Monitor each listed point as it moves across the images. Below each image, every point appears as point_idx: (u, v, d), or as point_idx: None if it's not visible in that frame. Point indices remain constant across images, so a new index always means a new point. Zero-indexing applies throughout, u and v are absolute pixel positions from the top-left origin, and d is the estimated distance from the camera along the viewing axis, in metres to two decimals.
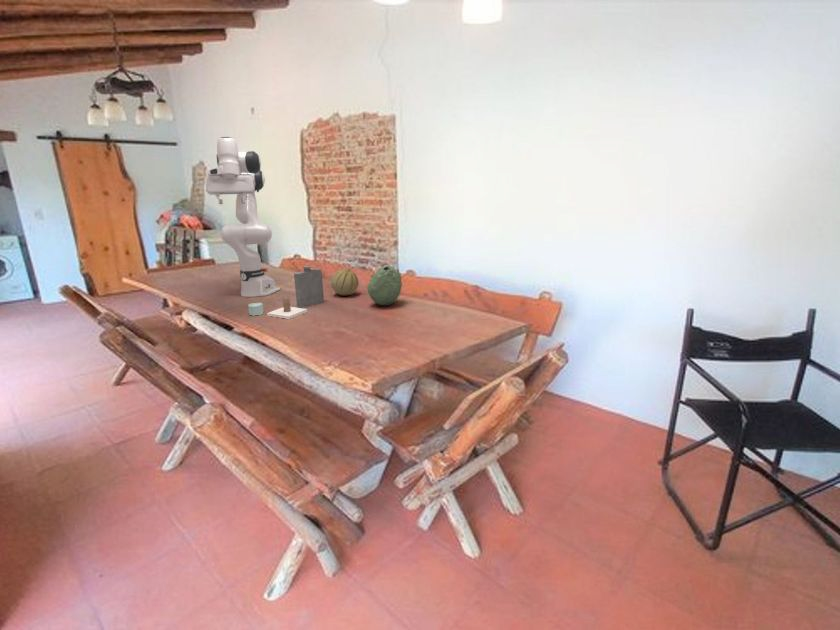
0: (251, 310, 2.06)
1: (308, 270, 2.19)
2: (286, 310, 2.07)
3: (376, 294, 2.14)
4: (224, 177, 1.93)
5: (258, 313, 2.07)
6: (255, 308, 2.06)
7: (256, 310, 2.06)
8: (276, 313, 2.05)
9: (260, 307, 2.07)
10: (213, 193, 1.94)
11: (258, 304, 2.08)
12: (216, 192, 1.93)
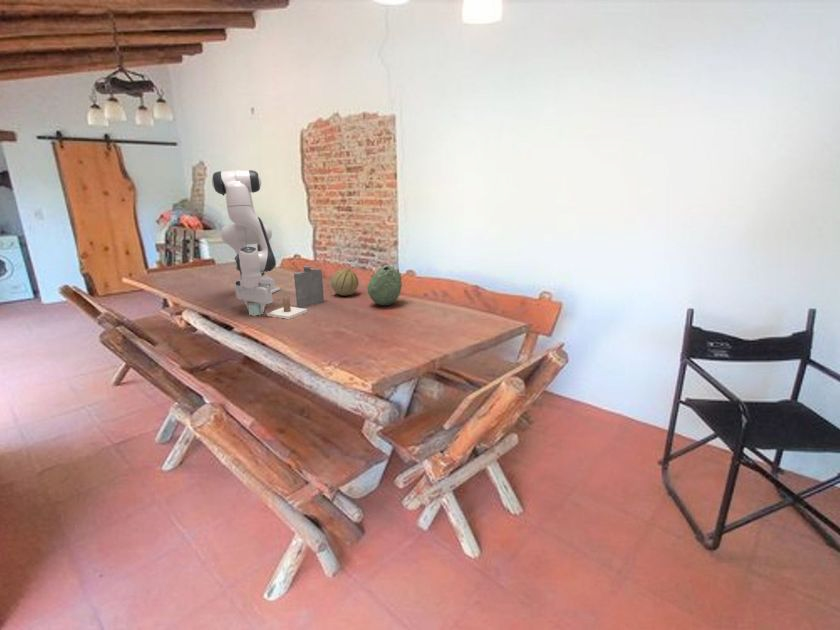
0: (251, 310, 2.06)
1: (308, 270, 2.19)
2: (286, 310, 2.07)
3: (376, 294, 2.14)
4: (246, 288, 2.04)
5: (258, 313, 2.07)
6: (255, 308, 2.06)
7: (256, 310, 2.06)
8: (276, 313, 2.05)
9: (260, 307, 2.07)
10: None
11: (258, 304, 2.08)
12: None
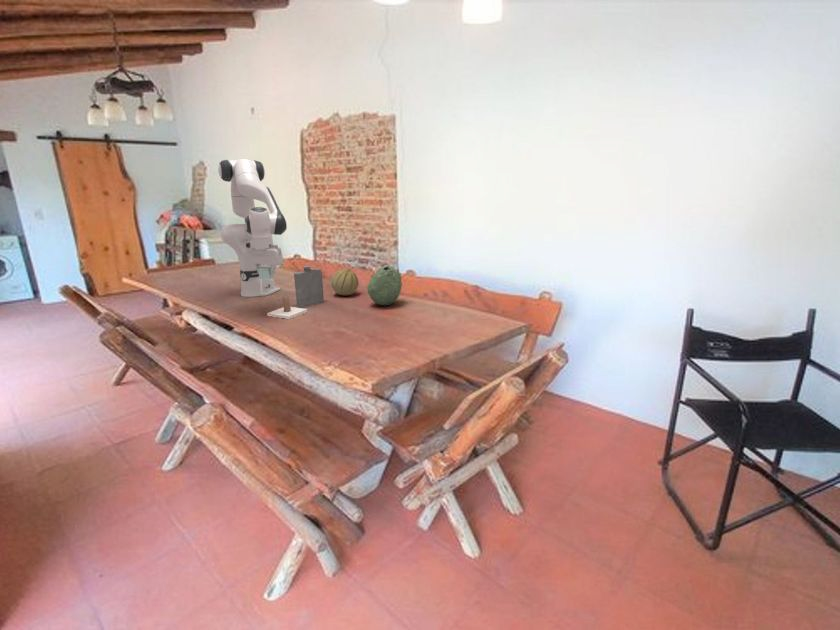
0: (261, 273, 2.00)
1: (308, 270, 2.19)
2: (286, 310, 2.07)
3: (376, 294, 2.14)
4: (256, 250, 1.99)
5: (268, 276, 2.01)
6: (265, 271, 2.00)
7: (266, 273, 2.00)
8: (276, 313, 2.05)
9: (270, 270, 2.01)
10: None
11: (268, 267, 2.02)
12: (253, 263, 2.03)
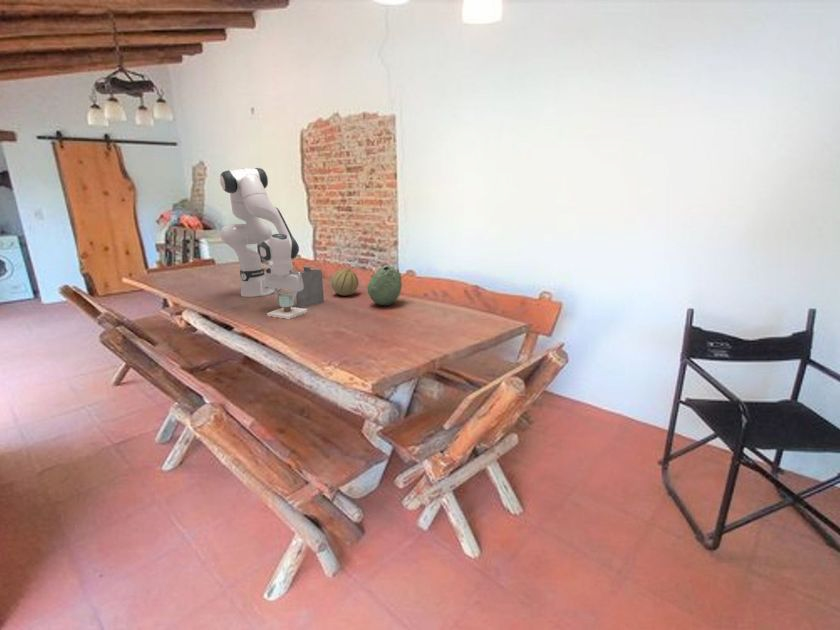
0: (282, 301, 2.04)
1: (308, 270, 2.19)
2: (286, 310, 2.07)
3: (376, 294, 2.14)
4: (276, 276, 2.02)
5: (289, 304, 2.05)
6: (286, 299, 2.04)
7: (287, 301, 2.04)
8: (276, 313, 2.05)
9: None
10: None
11: (288, 295, 2.06)
12: (273, 288, 2.07)
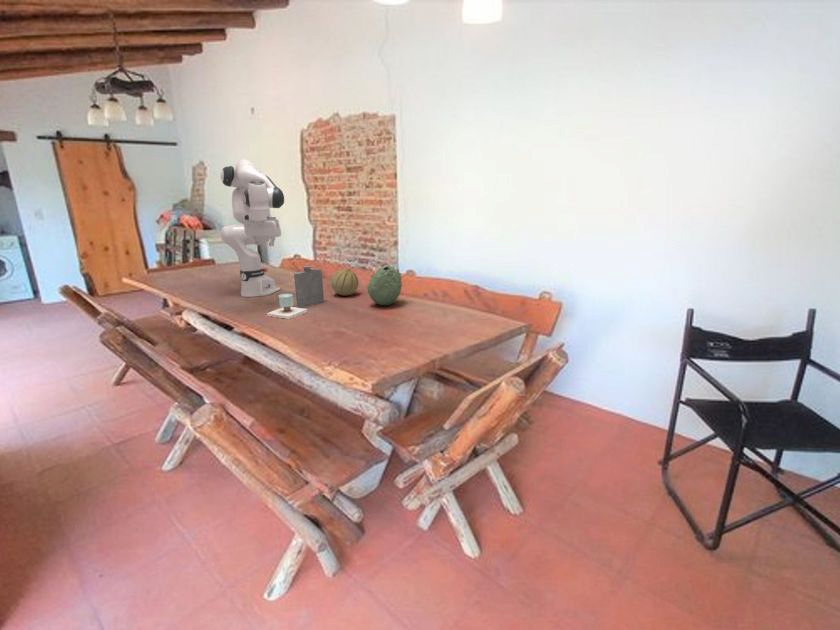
0: (282, 301, 2.04)
1: (308, 270, 2.19)
2: (286, 310, 2.07)
3: (376, 294, 2.14)
4: (254, 222, 2.07)
5: (289, 304, 2.05)
6: (286, 299, 2.04)
7: (287, 301, 2.04)
8: (276, 313, 2.05)
9: (291, 298, 2.05)
10: None
11: (288, 295, 2.06)
12: (252, 235, 2.11)
